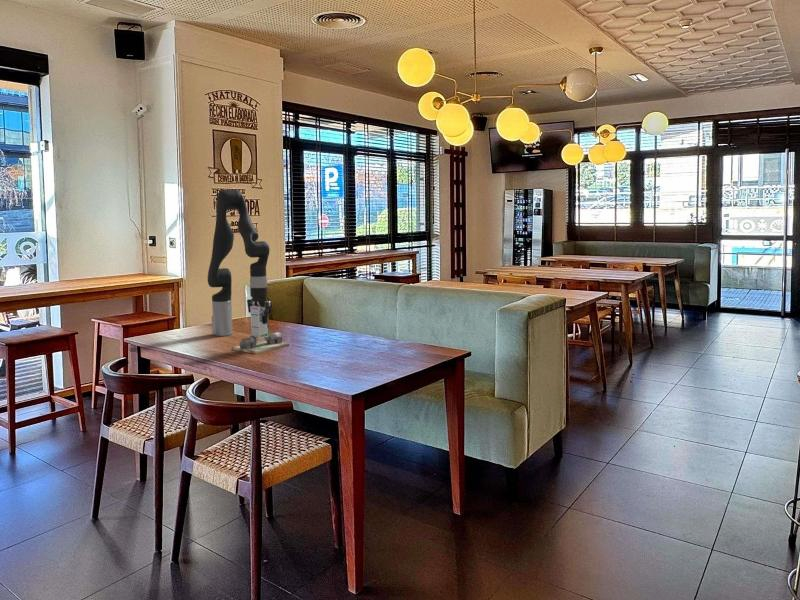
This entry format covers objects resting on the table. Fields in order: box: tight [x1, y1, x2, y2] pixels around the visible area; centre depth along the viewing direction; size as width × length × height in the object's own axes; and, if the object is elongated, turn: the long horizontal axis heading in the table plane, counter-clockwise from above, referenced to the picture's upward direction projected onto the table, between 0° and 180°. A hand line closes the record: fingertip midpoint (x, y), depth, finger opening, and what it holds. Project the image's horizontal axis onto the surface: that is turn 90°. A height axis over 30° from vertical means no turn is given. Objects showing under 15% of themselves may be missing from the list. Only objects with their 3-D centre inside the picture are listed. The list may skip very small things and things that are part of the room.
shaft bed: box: [231, 331, 290, 355], centre depth 284 cm, size 16×21×6 cm
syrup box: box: [250, 306, 270, 340], centre depth 282 cm, size 6×6×14 cm
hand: (259, 322), depth 283 cm, fingers closed on syrup box, 6 cm apart
